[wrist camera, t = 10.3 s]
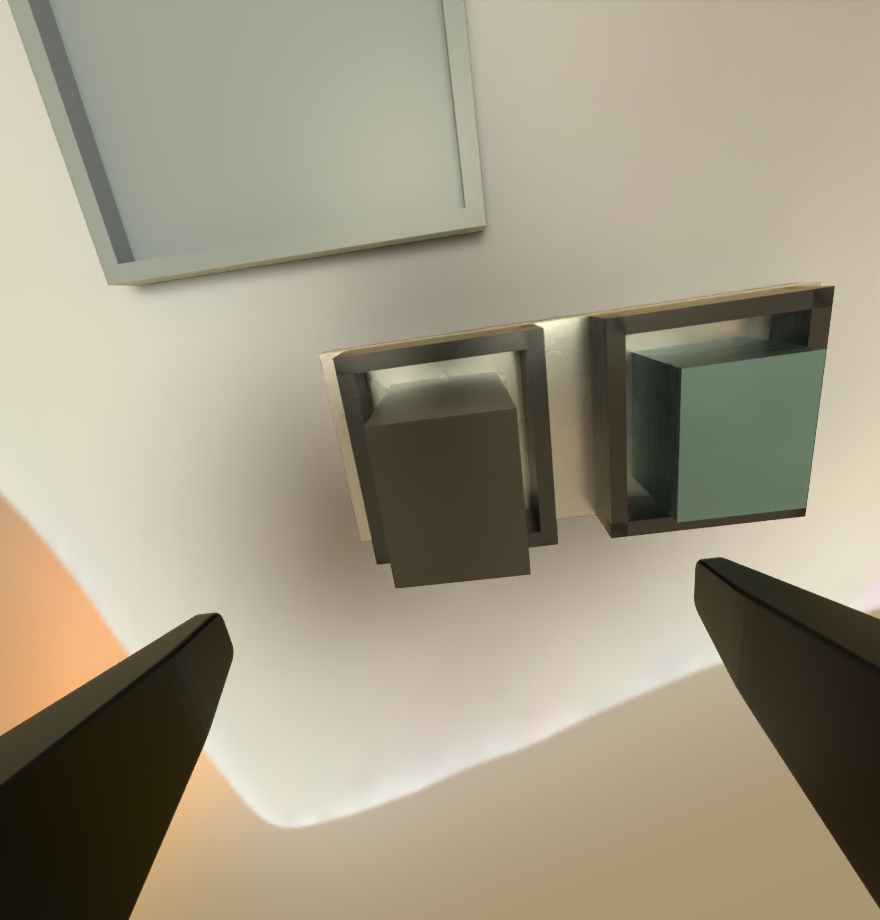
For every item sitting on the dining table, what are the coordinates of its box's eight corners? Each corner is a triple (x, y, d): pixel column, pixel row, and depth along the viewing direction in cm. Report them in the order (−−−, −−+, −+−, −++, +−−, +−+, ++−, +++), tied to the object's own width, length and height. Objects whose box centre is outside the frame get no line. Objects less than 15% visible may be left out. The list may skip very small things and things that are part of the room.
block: (495, 370, 18) (516, 408, 12) (507, 491, 19) (530, 574, 14) (390, 384, 18) (363, 427, 12) (411, 503, 20) (395, 588, 14)
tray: (428, -307, 13) (425, -387, 11) (482, 230, 17) (486, 224, 16) (-25, -199, 14) (-85, -260, 12) (136, 285, 18) (108, 285, 16)
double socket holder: (800, 282, 17) (930, 279, 13) (779, 481, 20) (880, 540, 15) (325, 351, 19) (283, 372, 14) (364, 530, 21) (340, 598, 17)
